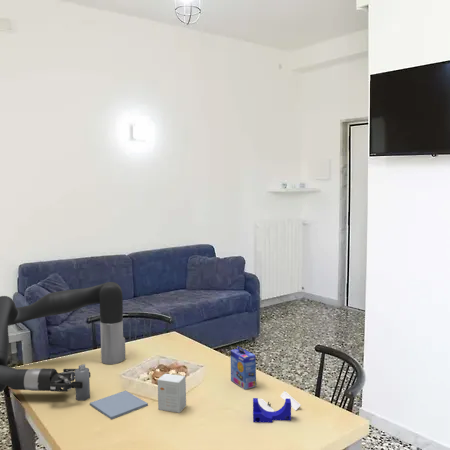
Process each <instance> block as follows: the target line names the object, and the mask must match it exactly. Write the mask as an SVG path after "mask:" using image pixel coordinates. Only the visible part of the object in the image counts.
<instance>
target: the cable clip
mask: <svg viewBox="0 0 450 450" xmlns="http://www.w3.org/2000/svg"><path fill="white" fill-rule="evenodd" d="M258 399H259V398H258V397H253V398H252V420H253V421H252V423H273V421H287V422H288V421H292V407H291V400H290V399H286V400H284V404H283V406H282V407H281V408H279V409H278V410H274V412H269V411H266V410H264V409H263V408H262V407H261V406H260V405H259V403H258Z"/></svg>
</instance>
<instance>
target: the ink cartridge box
mask: <svg viewBox="0 0 450 450" xmlns="http://www.w3.org/2000/svg"><path fill="white" fill-rule="evenodd" d="M236 347H237V348H234V349H231V350H230V351H229V352H230V381H231V382H232V383H234V384H236V386H238V387H240V388H242V389H243V390H249V389H252V388H256V387H257V366H256V365H257V361H256V354H254V353H253V352H250V351H248V350H246V349H245V348H242V347H241V346H237V345H236Z"/></svg>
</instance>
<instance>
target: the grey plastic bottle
mask: <svg viewBox="0 0 450 450" xmlns="http://www.w3.org/2000/svg"><path fill="white" fill-rule="evenodd" d="M75 369H76V370H75V376H74V377H75V379H74V381H82V382H83V388H74V389H75V400H76V401H86V400H89V399H90V397H91V392H90V391H91V387H90V378H89V372H90V369H89V367H86V364H85V363H83V364H79V365H78V367H77V368H75Z"/></svg>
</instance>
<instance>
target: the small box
mask: <svg viewBox="0 0 450 450" xmlns="http://www.w3.org/2000/svg"><path fill="white" fill-rule="evenodd" d="M186 383H187V382H186V375H179V374H169V373H164V374H163V375H161V376H160V377H159V378H158V379H157V405H158V407H157V408H158V410H159V411H165V412H173V413H178V414H180V413H181V412H182V411H183V410H184V409H185V407H186V406H187V386H186V385H187V384H186Z"/></svg>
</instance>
